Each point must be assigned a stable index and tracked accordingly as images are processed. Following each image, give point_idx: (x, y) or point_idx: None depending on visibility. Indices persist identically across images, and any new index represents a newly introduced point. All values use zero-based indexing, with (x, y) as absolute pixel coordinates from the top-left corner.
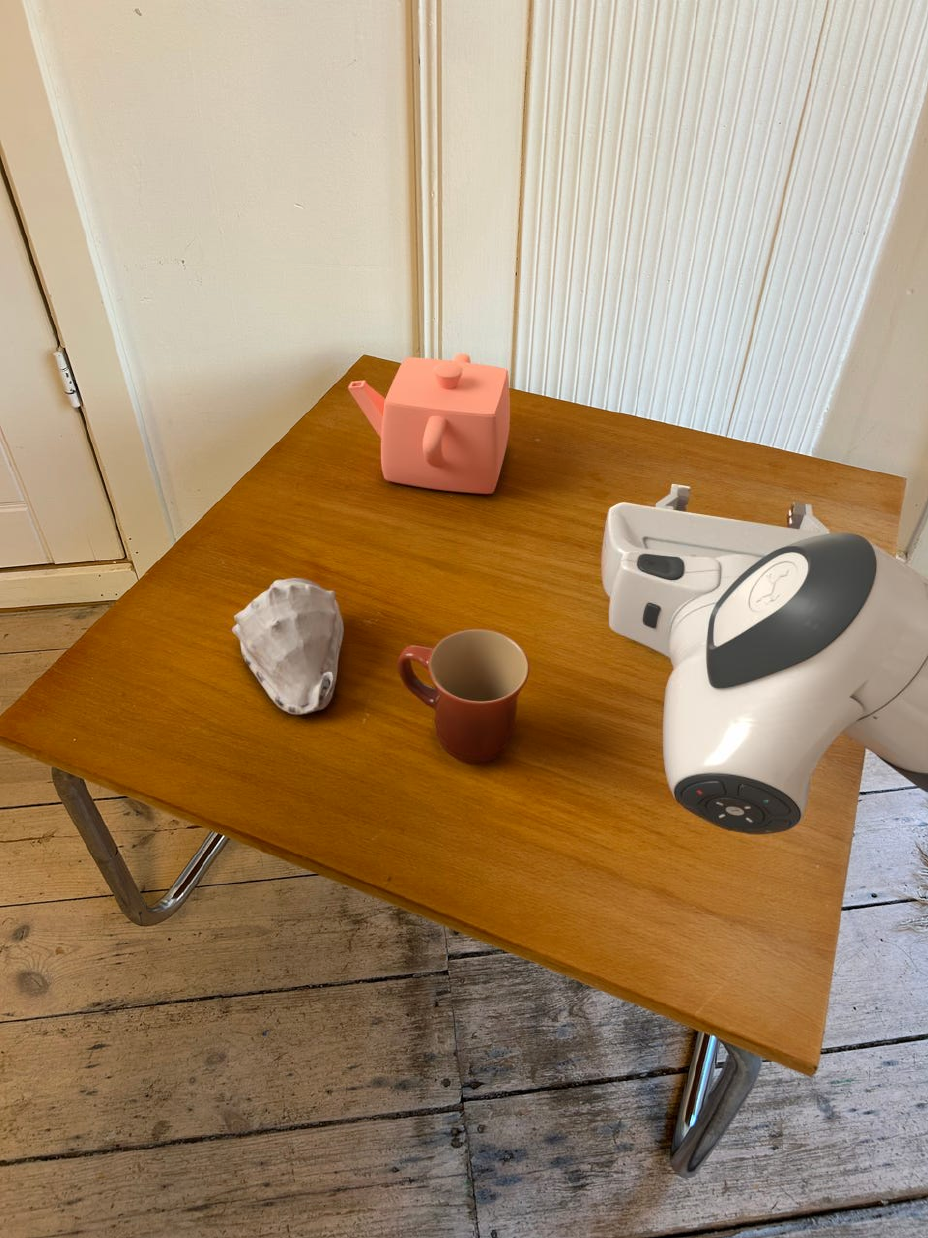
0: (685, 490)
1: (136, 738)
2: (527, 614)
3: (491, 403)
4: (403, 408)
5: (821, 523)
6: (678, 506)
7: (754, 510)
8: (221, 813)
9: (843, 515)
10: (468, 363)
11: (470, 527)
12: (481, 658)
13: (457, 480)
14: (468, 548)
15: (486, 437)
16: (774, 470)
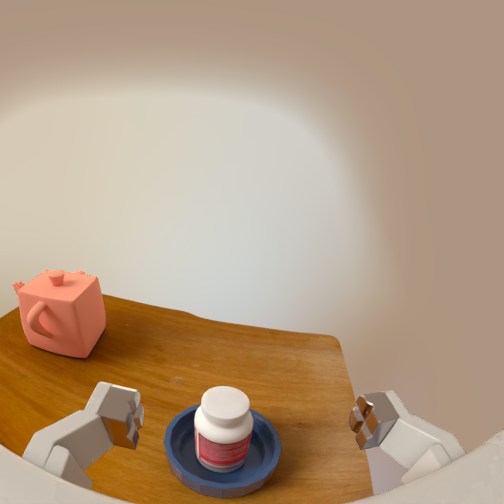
0: (122, 401)
1: None
2: None
3: (75, 295)
4: (25, 295)
5: (433, 425)
6: (113, 435)
7: (266, 363)
8: None
9: (319, 357)
10: (76, 273)
11: (65, 381)
12: None
13: (62, 347)
14: (59, 397)
15: (70, 318)
16: (273, 336)
